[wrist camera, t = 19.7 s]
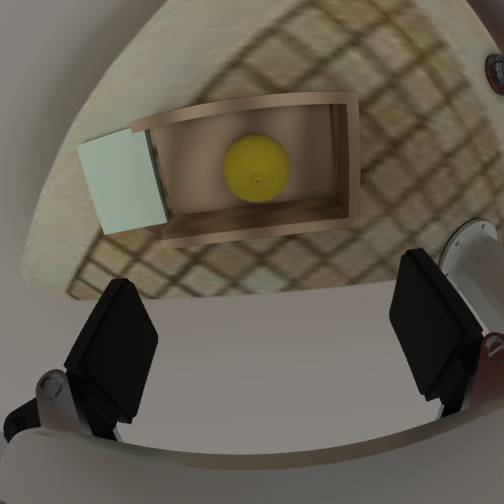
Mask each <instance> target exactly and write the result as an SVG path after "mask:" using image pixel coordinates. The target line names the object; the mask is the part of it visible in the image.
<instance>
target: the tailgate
mask: <svg viewBox="0 0 504 504" xmlns="http://www.w3.org/2000/svg"><path fill="white" fill-rule="evenodd" d="M77 150H78V153H79V157H80V161H81V164H82V168H83V171H84V175H85V178H86V182H87V185H88V188H89V191H90V194H91V197H92V200H93V203H94V206H95V209H96V212H97V215H98V218H99V220H100V223H101V226H102V228H103V231H104V234H105V235H106V234H111V233H116V232H121V231H125V230H130V229H136V228H141V227H146V226H151V225H157V224H162V223H167V222H168V220H169V214H168V211H167V207H166V203H165V200H164V196H163V192H162V188H161V184H160V180H159V176H158V172H157V168H156V164H155V160H154V155H153V151H152V147H151V142H150V137H149V133H148V129H147V130H143V131H140V132H136V133H133V134H132V132H131V128H127V129H124V130H121V131H118V132H115V133H111V134H108V135H106V136H103V137H100V138H97V139H94V140H91V141H89V142H86V143H83V144H81V145H79V146H77Z"/></svg>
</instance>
